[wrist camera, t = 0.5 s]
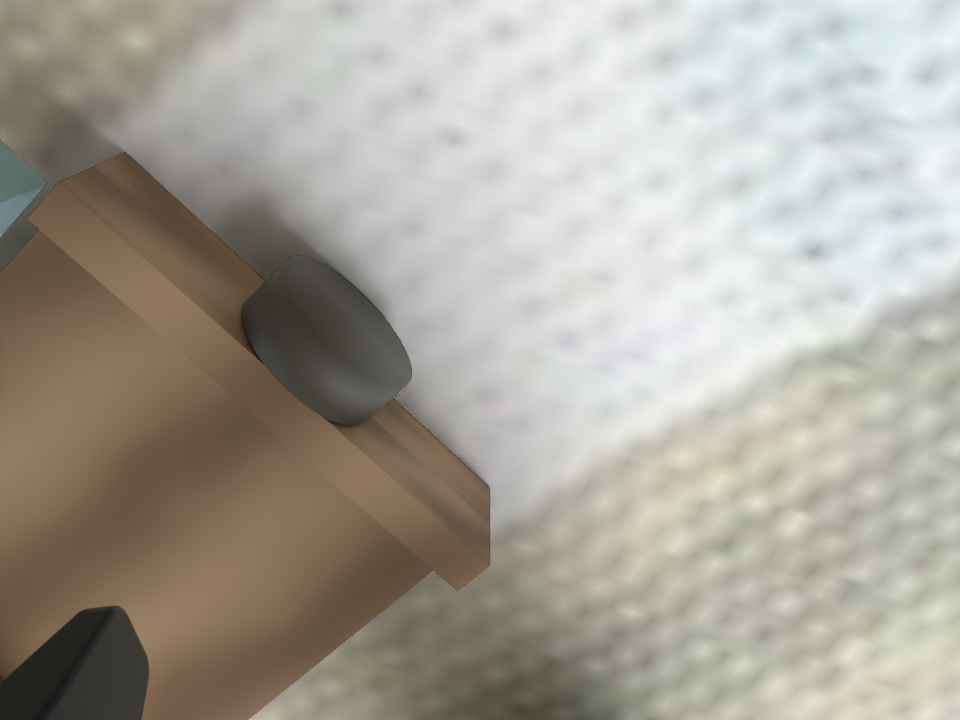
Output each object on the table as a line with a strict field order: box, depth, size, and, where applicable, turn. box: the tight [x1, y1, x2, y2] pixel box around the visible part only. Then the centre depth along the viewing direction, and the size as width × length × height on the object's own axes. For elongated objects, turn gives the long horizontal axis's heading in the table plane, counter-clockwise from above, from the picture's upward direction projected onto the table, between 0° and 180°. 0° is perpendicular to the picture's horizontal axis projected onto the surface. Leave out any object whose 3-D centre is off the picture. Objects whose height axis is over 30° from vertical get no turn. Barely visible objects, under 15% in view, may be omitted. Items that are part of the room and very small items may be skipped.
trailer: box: [0, 152, 490, 720], centre depth 26 cm, size 14×19×4 cm
